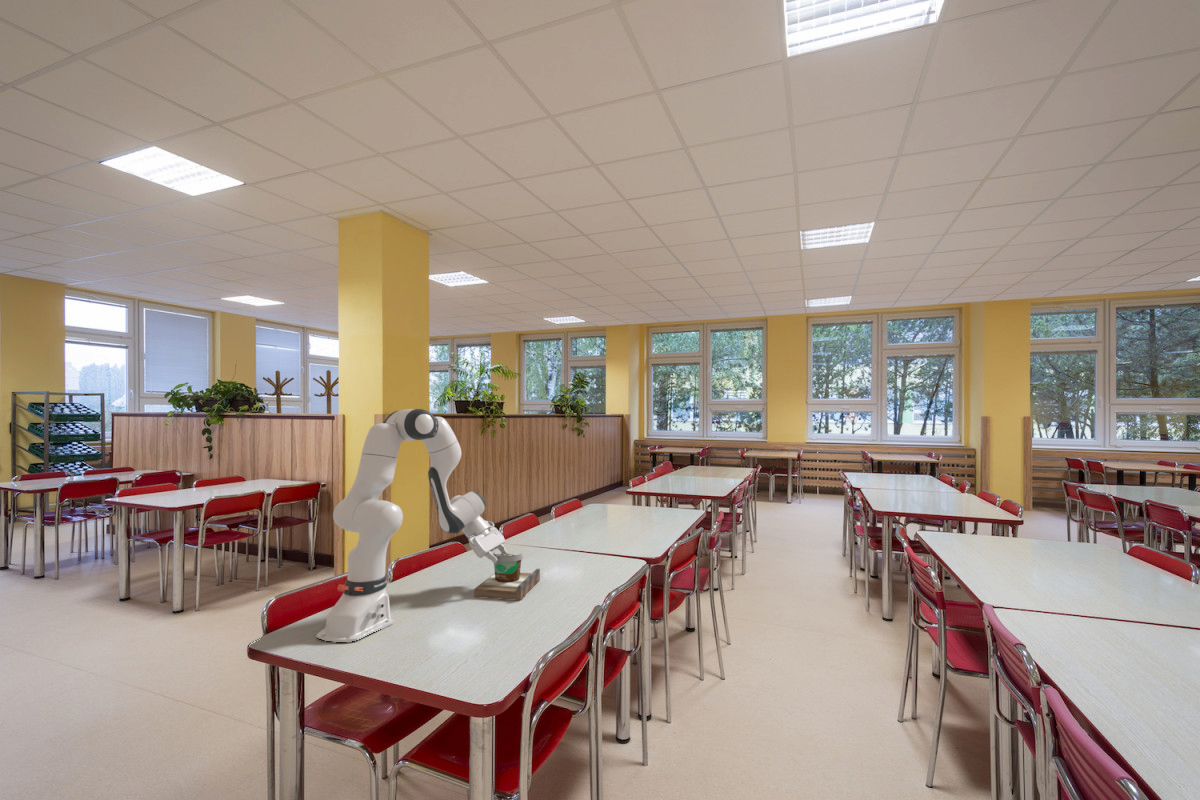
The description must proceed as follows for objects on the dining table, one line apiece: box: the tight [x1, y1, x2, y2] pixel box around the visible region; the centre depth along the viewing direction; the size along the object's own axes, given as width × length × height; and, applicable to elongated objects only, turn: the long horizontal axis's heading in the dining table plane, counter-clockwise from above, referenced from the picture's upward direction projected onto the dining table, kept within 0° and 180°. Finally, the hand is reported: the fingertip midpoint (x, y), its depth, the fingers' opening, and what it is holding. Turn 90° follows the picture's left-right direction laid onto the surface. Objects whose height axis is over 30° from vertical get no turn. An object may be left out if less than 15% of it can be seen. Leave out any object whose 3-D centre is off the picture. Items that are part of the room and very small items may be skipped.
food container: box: [492, 551, 524, 583], centre depth 193 cm, size 12×6×10 cm, turn 80°
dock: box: [473, 568, 541, 601], centre depth 194 cm, size 22×18×5 cm
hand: (501, 558), depth 194 cm, fingers open, 8 cm apart
